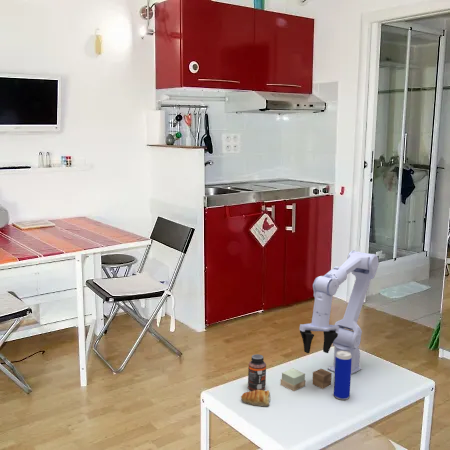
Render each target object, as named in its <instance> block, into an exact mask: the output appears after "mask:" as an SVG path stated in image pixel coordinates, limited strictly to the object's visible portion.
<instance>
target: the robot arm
mask: <svg viewBox="0 0 450 450" xmlns="http://www.w3.org/2000/svg"><path fill="white" fill-rule="evenodd" d="M379 263H380V262H379V258H378V255H377V254H376V253H368V252H364V251H363V252H362V251H358V250H353V249H352V250H351V251H350V252H349V253H348V255H347V259H346V260H345V261H344V262H343V263H342V264H341V265H340V266H337V265H336V266H333V268H331V269H330V270H329V271H328V272H326V273H325V274H324V275H320V276H317V277H315V279H314V281H313V283H312V290H313V297H314V303H313V310H312V317H311V322H310V323H304V324H301V323H300V324H299V330H298V331H299V333H300V337H301V339H302V343H303V352H304V353H306V354H310V351H311V346H312V341H313V339H314V337H315V334H313V333H312V332H323V346H322V352H323V353H325V354H329V351H330V350H331V347H332V346H333V347H334V353H333V365H332V366H330V367H328V370H329V371H332V372H334V373H335V356H336V353H337V352H338V351H347V352H350V353H351V356H352V362H351V375H352V374H354V373H357V372H359V371H361V370H362V367H360V360H361V351H360V348H359V346H360V345H361V341H362V339H361V338H362V334H363V331H362V328H361V327H360V325H359V324H358V320H359V317H360V314H361V311H362V308H363V305H364V302H365V298H366V295H367V293H368V289H369V286H370V283H371V280H373V279H375V277H376V274H377V271H378V267H379V265H380V264H379ZM350 273H351V274H352V275H353V276H354V277H355V281H354V284H353V288H352V290H351V293H350V296H349V299H348V303H347V305H346V307H345V308H346V309H345V312H344V314H343V317H342V319H339V320H337V321H335V323H334V324H330V318H331V311H332V305H333V304H332V303H333V297H334V296H335V295H336V294H337V291H338V289H339V288H340V286H341V285H342V283H344V282H346V280H347V279H348V275H349V274H350Z"/></svg>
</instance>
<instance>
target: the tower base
mask: <svg viewBox="0 0 450 450" xmlns="http://www.w3.org/2000/svg"><path fill="white" fill-rule="evenodd" d="M279 383H280V386H282V387H285V388H287V389H288V390H291V391H292V392H295V391H297V390H300V389H302V388H303V387H306V379H305V381H303V382H300V383H298V384H296V385H292V384H290V383H288V382H286V381H284V380H282V378H281V379H280V382H279Z"/></svg>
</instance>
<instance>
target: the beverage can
mask: <svg viewBox="0 0 450 450" xmlns="http://www.w3.org/2000/svg"><path fill="white" fill-rule="evenodd" d="M351 362H352V356H351V353H350V352H347V351H338V352H337V353H336V356H335V372H334V379H333V396H334V398H336V399H337V400H343V401H345V400H348V399H349V398H350V394H351V380H352V379H351V377H352V374H351Z"/></svg>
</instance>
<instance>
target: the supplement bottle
mask: <svg viewBox="0 0 450 450" xmlns="http://www.w3.org/2000/svg"><path fill="white" fill-rule="evenodd" d="M247 373H248V375H247V387H248V389H249V391H256V390H263V391H265V389H266V387H267V385H266V384H267V383H266V382H267V381H266V380H267V379H266V377H267V364H266V361H264V355H261V354H257V353H256V354H252V355H251V360H250V361H249V363H248V371H247Z"/></svg>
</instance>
